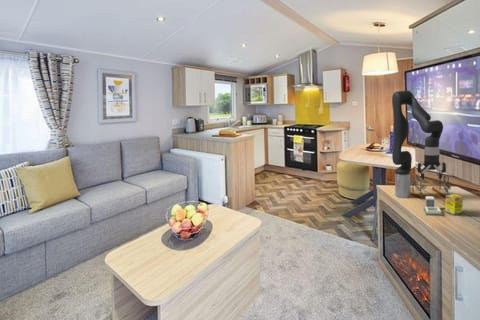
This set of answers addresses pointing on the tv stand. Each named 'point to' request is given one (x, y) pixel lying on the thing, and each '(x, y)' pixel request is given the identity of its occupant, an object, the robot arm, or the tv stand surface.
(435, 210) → the socket board
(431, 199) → the plug
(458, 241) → the tv stand surface
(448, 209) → the supplement box
